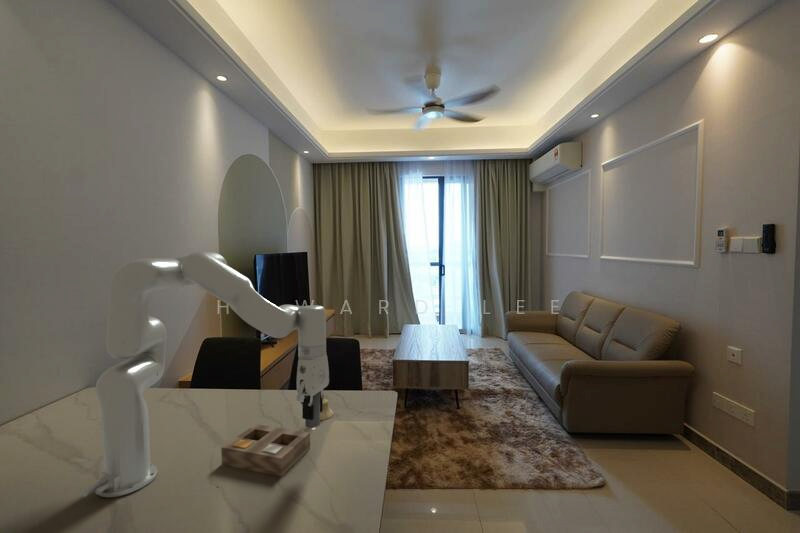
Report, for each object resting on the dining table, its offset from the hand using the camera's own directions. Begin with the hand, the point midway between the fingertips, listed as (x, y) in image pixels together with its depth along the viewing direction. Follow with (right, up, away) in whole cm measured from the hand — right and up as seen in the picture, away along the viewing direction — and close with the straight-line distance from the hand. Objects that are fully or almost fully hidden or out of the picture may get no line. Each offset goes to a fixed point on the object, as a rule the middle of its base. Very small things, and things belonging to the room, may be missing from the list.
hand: (312, 414), depth 97 cm
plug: (0, -3, 0) cm, 3 cm away
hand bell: (-4, -14, +31) cm, 35 cm away
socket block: (-15, -15, +5) cm, 21 cm away
